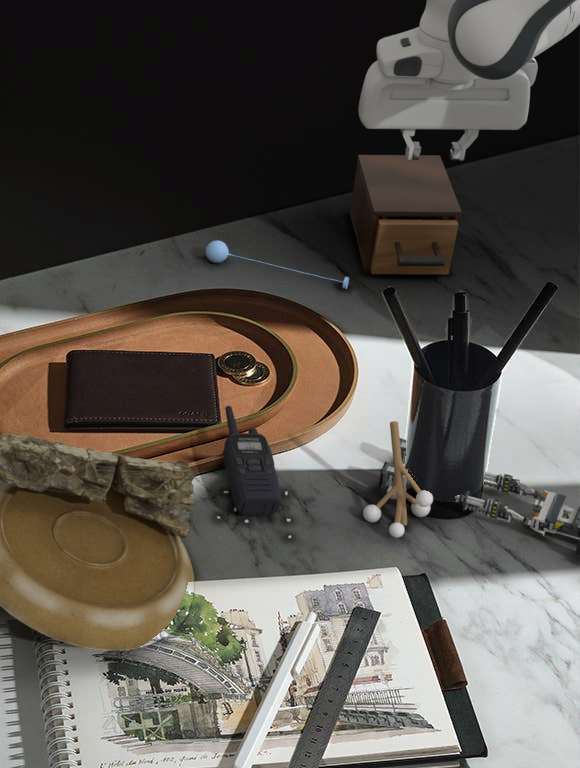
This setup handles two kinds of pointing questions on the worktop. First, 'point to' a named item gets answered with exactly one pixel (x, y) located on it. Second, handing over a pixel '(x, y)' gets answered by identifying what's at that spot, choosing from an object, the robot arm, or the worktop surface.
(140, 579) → the plant saucer
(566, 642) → the worktop surface
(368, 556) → the worktop surface
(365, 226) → the cabinet
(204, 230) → the worktop surface
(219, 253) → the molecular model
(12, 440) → the fossil
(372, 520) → the cotton branch
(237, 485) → the two-way radio
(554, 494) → the toy
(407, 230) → the drawer
